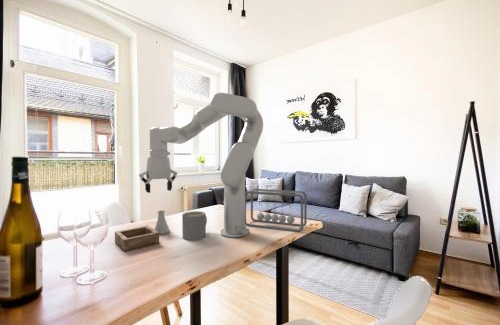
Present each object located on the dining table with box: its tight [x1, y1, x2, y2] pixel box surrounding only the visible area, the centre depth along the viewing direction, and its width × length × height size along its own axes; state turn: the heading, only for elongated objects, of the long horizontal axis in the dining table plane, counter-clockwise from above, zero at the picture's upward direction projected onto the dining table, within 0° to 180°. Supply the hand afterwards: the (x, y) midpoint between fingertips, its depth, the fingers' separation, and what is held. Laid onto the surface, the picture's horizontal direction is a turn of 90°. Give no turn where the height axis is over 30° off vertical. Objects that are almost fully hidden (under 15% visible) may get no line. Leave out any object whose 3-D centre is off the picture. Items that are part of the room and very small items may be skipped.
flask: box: [153, 209, 170, 235], centre depth 112 cm, size 7×7×10 cm
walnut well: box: [114, 225, 160, 253], centre depth 98 cm, size 13×13×4 cm
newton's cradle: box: [245, 188, 308, 233], centre depth 122 cm, size 30×10×18 cm, turn 67°
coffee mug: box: [181, 210, 208, 241], centre depth 108 cm, size 13×10×10 cm
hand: (159, 191), depth 112 cm, fingers open, 9 cm apart
